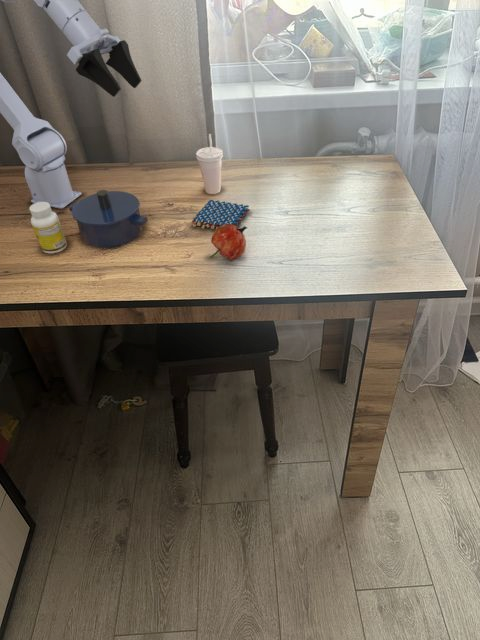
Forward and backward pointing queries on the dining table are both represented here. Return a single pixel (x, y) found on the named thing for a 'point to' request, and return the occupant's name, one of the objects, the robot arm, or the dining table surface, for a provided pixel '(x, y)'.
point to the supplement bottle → (47, 228)
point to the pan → (112, 231)
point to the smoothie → (210, 167)
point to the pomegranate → (229, 241)
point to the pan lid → (105, 208)
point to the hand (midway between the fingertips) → (127, 88)
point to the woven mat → (220, 214)
